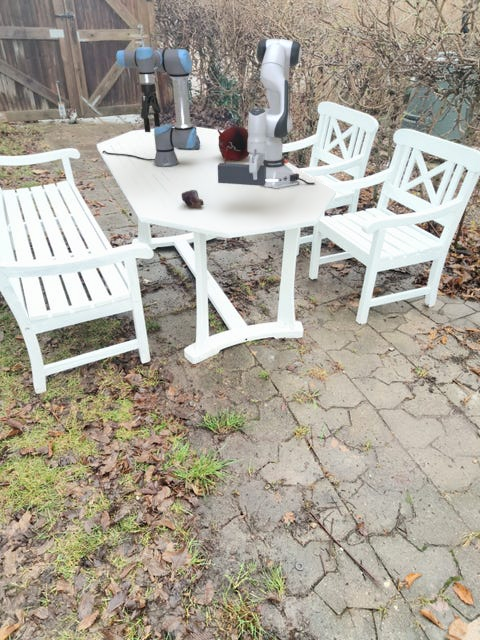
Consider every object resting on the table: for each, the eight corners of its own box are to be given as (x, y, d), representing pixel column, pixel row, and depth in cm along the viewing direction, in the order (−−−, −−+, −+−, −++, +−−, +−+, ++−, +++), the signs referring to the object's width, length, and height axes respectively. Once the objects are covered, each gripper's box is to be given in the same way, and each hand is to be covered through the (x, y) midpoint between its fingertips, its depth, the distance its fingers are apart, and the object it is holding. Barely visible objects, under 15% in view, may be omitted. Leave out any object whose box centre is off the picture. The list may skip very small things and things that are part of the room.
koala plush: (200, 149, 323) (198, 120, 312) (175, 150, 322) (172, 121, 311) (200, 144, 337) (198, 115, 326) (176, 144, 336) (173, 116, 325)
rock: (197, 203, 236) (179, 206, 232) (195, 186, 232) (177, 189, 228) (206, 207, 226) (187, 210, 222) (204, 189, 223) (185, 192, 219)
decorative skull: (215, 132, 306) (215, 129, 282) (249, 124, 305) (251, 121, 281) (222, 164, 313) (222, 164, 289) (255, 157, 312) (258, 156, 288)
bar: (218, 182, 219) (217, 165, 214) (220, 180, 223) (220, 162, 218) (264, 185, 215) (264, 168, 210) (265, 182, 219) (266, 165, 214)
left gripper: (145, 87, 211) (150, 134, 223) (163, 80, 231) (167, 124, 243) (130, 86, 212) (136, 134, 224) (150, 80, 232) (154, 124, 244)
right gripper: (259, 153, 199) (259, 184, 207) (267, 142, 216) (266, 171, 223) (245, 152, 200) (245, 183, 208) (254, 142, 217) (253, 171, 225)
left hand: (152, 129), depth 234 cm, fingers open, 13 cm apart
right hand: (256, 177), depth 216 cm, fingers closed on bar, 5 cm apart
